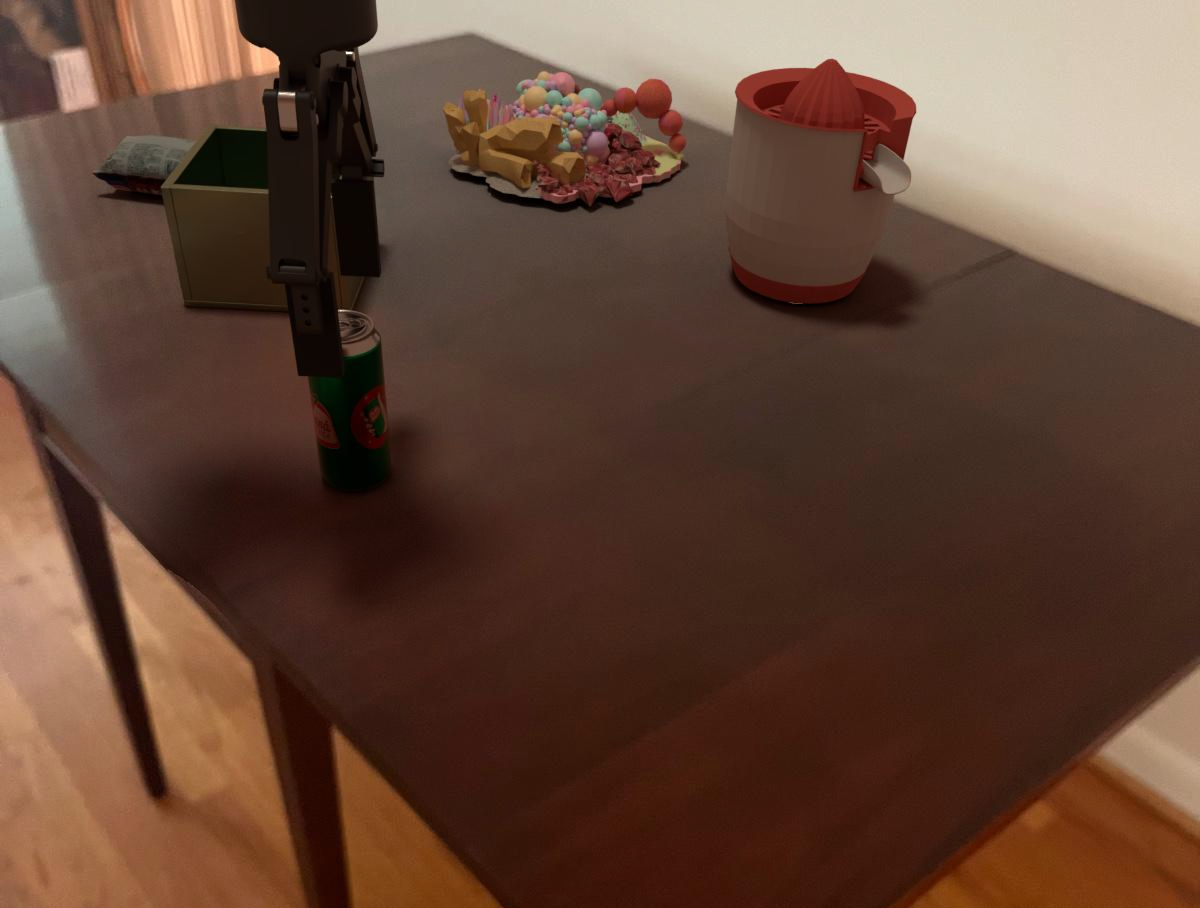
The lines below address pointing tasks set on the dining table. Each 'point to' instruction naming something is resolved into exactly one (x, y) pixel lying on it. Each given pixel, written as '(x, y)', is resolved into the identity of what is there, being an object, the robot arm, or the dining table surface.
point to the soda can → (353, 411)
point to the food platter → (565, 139)
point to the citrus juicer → (813, 178)
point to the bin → (233, 224)
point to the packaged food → (143, 162)
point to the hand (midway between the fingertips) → (342, 321)
